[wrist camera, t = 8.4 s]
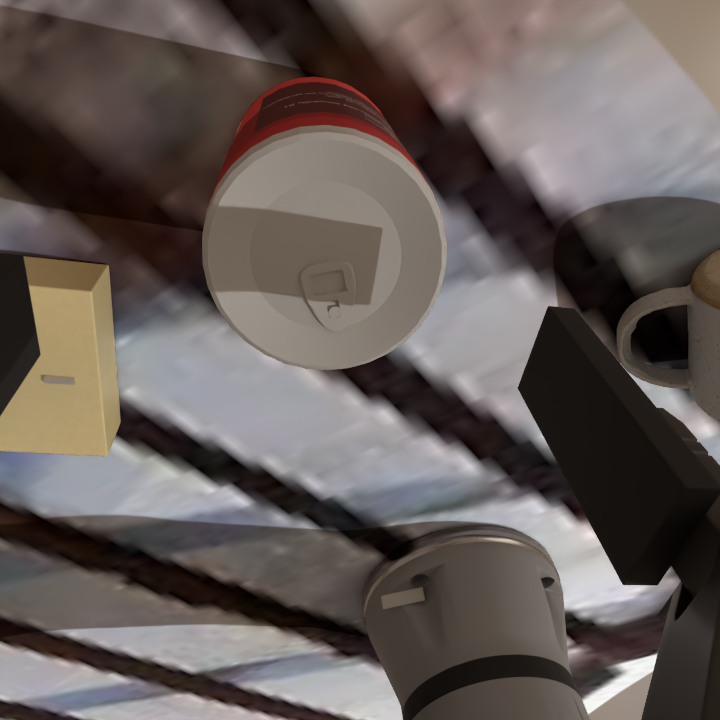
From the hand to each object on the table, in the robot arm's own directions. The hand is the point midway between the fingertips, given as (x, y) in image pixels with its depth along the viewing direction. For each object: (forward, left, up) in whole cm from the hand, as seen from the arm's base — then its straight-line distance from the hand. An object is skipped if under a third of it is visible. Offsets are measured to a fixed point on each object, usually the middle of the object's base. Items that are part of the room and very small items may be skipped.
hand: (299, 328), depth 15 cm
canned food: (0, -1, -15) cm, 15 cm away
